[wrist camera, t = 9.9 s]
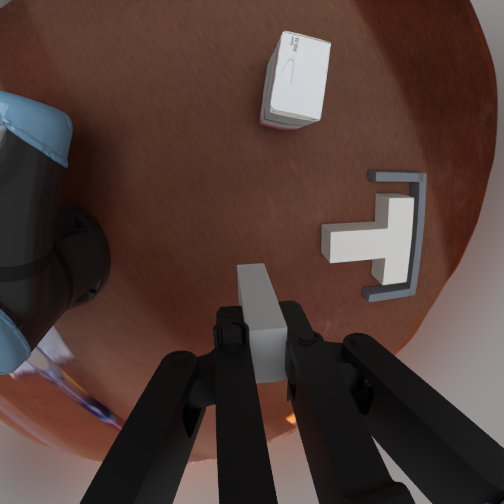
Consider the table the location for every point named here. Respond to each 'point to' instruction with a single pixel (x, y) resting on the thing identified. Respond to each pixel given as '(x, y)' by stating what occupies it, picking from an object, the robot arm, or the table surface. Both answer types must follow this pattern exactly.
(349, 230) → the t block
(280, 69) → the ink box
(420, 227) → the dock
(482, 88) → the table surface
